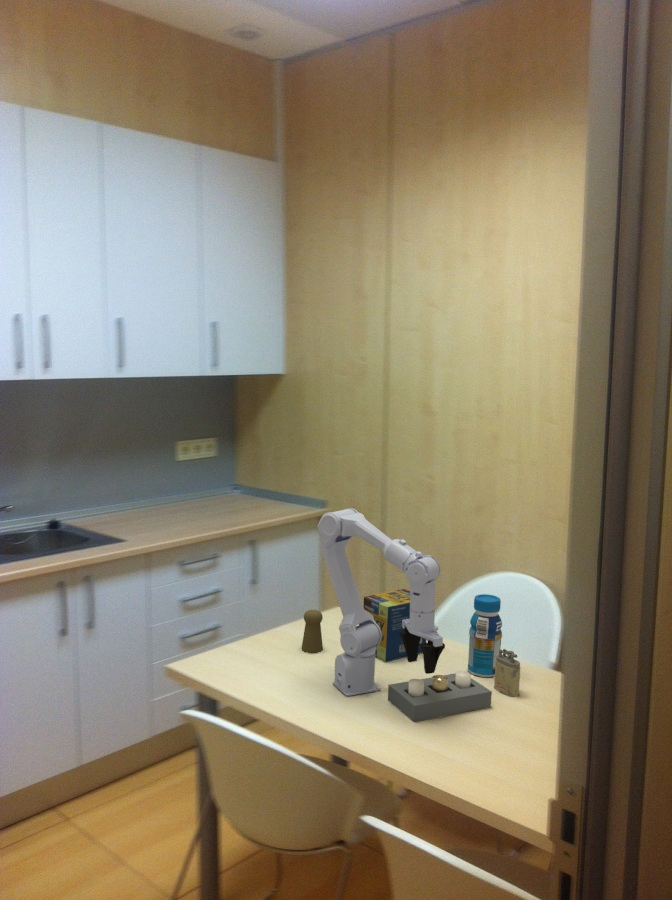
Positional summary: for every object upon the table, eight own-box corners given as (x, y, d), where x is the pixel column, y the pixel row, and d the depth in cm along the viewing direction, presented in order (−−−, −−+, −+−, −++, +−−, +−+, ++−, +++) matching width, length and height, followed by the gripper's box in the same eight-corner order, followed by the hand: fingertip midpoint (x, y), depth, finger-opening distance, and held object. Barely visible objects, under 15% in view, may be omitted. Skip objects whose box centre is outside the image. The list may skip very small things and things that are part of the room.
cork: (322, 653, 207) (323, 614, 206) (300, 653, 208) (301, 614, 206) (323, 645, 213) (324, 607, 212) (301, 645, 214) (303, 607, 212)
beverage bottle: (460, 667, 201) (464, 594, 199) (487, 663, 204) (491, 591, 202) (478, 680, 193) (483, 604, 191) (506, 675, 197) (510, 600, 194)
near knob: (413, 704, 174) (413, 686, 173) (405, 697, 177) (405, 680, 176) (426, 701, 175) (427, 683, 175) (418, 695, 178) (419, 677, 178)
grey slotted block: (413, 722, 169) (414, 705, 169) (387, 700, 180) (388, 684, 179) (490, 707, 178) (491, 691, 178) (461, 686, 189) (462, 672, 188)
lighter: (521, 695, 185) (524, 655, 184) (510, 698, 183) (513, 658, 182) (500, 684, 191) (503, 646, 190) (489, 687, 189) (492, 648, 188)
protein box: (360, 650, 211) (362, 596, 209) (402, 640, 220) (404, 588, 218) (385, 663, 203) (387, 606, 201) (427, 651, 212) (429, 597, 210)
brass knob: (437, 699, 176) (438, 681, 176) (428, 693, 180) (429, 676, 179) (450, 697, 178) (451, 679, 177) (441, 691, 181) (442, 673, 181)
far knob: (460, 695, 179) (461, 677, 179) (451, 689, 182) (452, 672, 182) (473, 693, 181) (474, 675, 180) (464, 687, 184) (465, 670, 183)
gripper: (454, 616, 169) (453, 675, 170) (420, 599, 182) (419, 654, 183) (427, 620, 166) (426, 680, 167) (394, 602, 179) (393, 658, 180)
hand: (420, 666), depth 175 cm, fingers open, 7 cm apart
